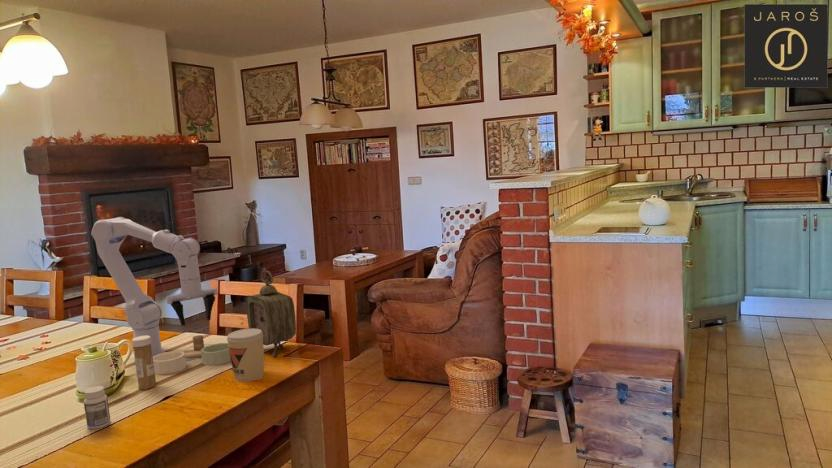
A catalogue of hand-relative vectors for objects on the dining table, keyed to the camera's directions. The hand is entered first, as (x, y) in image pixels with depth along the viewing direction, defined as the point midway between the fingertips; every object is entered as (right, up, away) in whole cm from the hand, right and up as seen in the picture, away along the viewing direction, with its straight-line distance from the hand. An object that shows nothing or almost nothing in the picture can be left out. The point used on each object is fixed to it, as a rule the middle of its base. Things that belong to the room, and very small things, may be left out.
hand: (195, 322), depth 183 cm
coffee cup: (+23, -12, -22) cm, 34 cm away
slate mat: (+1, -10, +1) cm, 10 cm away
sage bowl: (+9, -10, -7) cm, 16 cm away
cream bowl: (-3, -12, -12) cm, 17 cm away
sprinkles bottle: (-4, -14, -25) cm, 29 cm away
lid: (+1, -10, +1) cm, 10 cm away
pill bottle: (-5, -16, -47) cm, 50 cm away
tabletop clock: (+25, -9, -1) cm, 26 cm away
